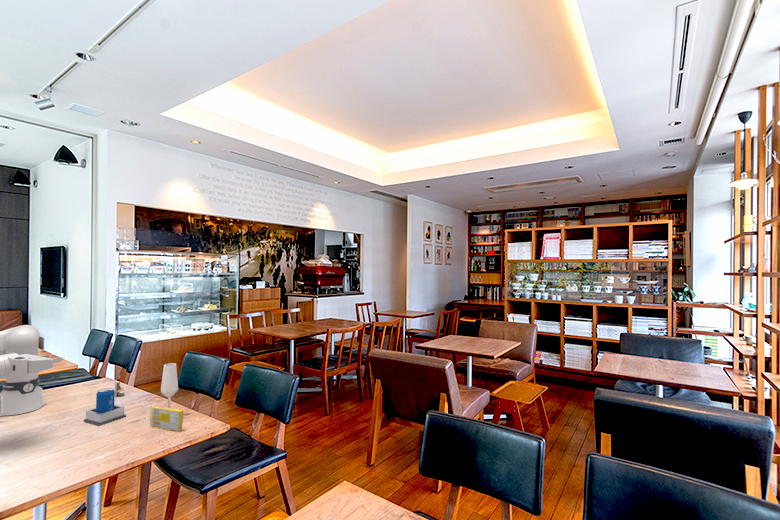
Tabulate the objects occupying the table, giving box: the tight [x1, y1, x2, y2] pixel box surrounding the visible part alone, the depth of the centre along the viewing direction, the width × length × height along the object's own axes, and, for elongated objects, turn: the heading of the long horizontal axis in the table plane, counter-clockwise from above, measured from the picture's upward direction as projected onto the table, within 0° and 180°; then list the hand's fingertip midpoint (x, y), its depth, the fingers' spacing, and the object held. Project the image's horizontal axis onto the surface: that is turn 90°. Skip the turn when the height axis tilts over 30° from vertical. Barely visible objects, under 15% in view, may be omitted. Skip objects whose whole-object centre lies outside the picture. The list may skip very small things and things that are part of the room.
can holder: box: [83, 404, 127, 427], centre depth 169 cm, size 11×11×4 cm
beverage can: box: [95, 387, 116, 413], centre depth 169 cm, size 6×6×12 cm
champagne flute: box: [160, 362, 179, 409], centre depth 170 cm, size 7×7×24 cm
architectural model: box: [114, 381, 125, 397], centre depth 201 cm, size 3×7×7 cm, turn 41°
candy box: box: [149, 405, 184, 432], centre depth 160 cm, size 16×2×8 cm, turn 71°
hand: (54, 358), depth 156 cm, fingers open, 8 cm apart
